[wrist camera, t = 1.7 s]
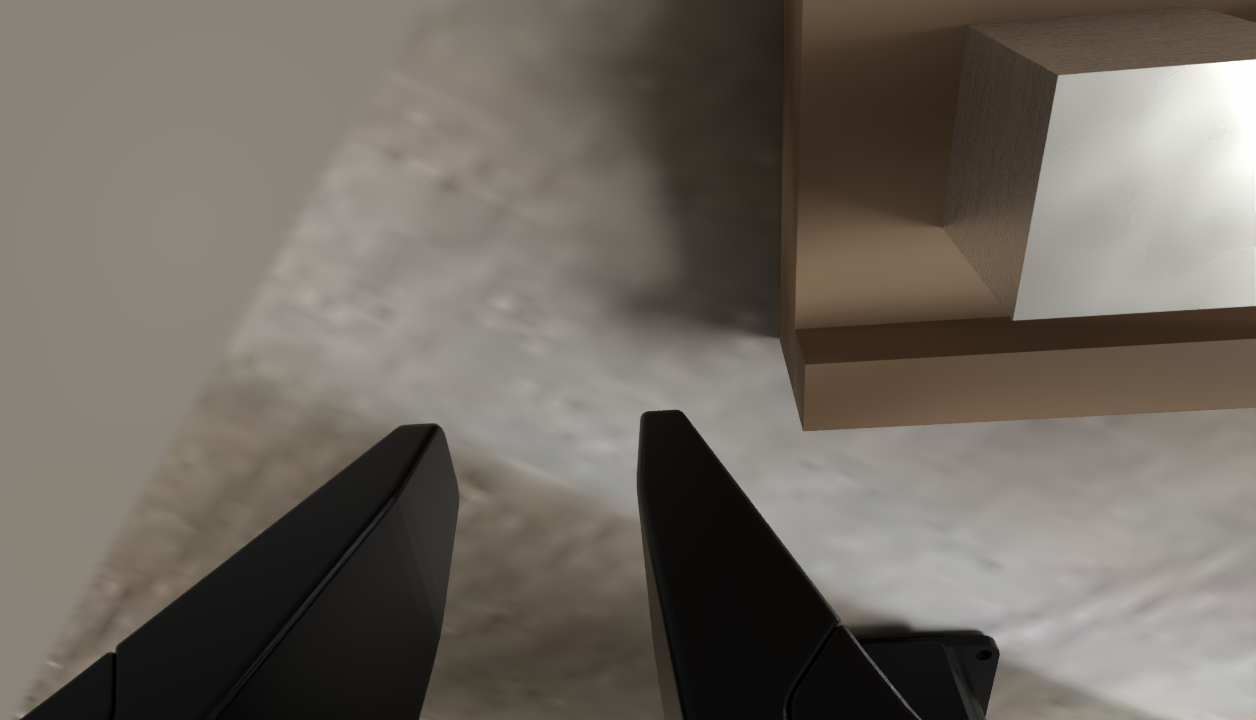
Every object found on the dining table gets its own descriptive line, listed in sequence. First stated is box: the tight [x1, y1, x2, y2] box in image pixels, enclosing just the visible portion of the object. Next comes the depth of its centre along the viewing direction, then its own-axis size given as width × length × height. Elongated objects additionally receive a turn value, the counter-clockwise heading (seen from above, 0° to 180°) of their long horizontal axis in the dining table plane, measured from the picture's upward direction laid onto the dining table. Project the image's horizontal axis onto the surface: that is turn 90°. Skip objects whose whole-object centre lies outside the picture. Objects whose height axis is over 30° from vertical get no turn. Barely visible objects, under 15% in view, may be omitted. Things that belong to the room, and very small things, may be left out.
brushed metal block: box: [942, 5, 1256, 321], centre depth 14 cm, size 4×4×4 cm
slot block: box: [780, 0, 1256, 431], centre depth 16 cm, size 12×16×4 cm
